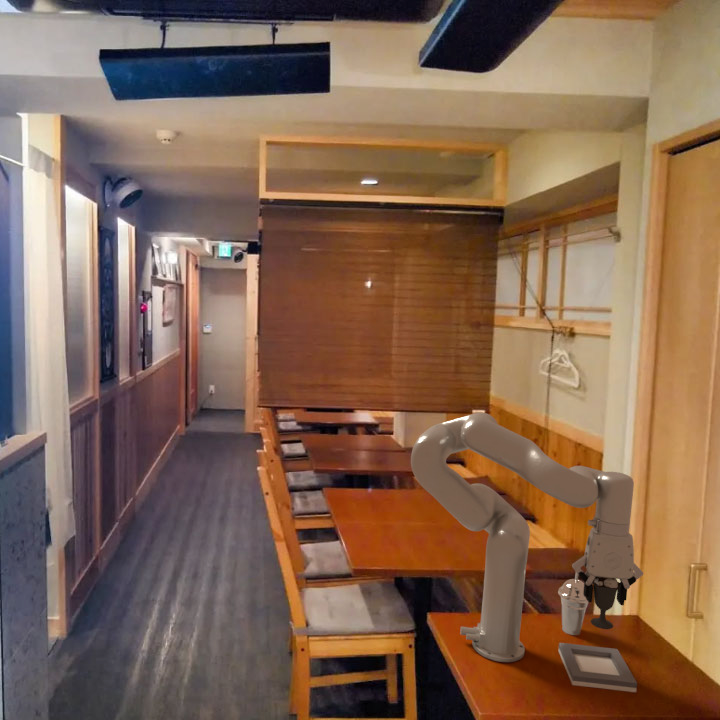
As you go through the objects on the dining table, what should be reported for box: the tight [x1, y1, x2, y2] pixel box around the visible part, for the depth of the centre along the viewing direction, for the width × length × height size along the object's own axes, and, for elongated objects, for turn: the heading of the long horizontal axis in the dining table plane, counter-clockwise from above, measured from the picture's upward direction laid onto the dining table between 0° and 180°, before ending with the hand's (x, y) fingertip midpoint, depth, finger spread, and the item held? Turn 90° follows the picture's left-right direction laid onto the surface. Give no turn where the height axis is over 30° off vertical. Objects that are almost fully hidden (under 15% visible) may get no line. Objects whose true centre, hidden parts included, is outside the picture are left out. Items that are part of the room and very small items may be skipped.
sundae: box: [590, 577, 621, 630], centre depth 147 cm, size 7×7×15 cm
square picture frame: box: [557, 642, 638, 693], centre depth 149 cm, size 14×14×2 cm
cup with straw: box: [557, 571, 589, 636], centre depth 166 cm, size 8×9×20 cm
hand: (604, 600), depth 147 cm, fingers closed on sundae, 6 cm apart
